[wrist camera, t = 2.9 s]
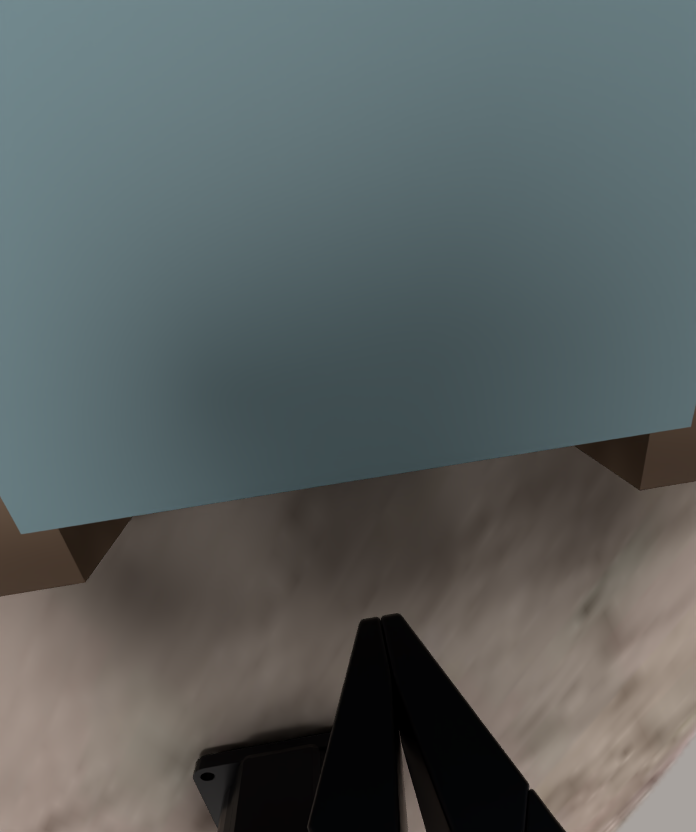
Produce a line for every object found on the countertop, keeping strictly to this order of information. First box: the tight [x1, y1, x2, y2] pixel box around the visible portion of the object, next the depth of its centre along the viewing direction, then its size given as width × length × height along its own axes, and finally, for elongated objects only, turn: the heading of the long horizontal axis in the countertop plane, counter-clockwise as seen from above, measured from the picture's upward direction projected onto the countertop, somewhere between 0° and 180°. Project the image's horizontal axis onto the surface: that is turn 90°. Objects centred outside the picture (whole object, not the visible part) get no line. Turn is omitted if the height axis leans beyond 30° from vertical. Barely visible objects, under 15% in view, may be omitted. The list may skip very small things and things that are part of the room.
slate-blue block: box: [0, 0, 696, 534], centre depth 6 cm, size 6×10×4 cm, turn 97°
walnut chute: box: [0, 406, 696, 596], centre depth 6 cm, size 14×15×3 cm
